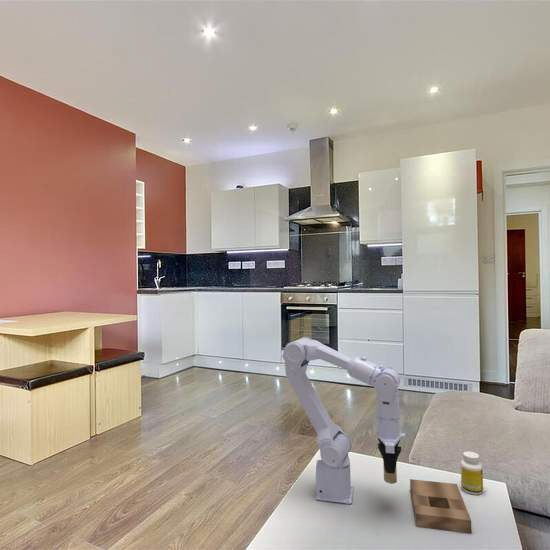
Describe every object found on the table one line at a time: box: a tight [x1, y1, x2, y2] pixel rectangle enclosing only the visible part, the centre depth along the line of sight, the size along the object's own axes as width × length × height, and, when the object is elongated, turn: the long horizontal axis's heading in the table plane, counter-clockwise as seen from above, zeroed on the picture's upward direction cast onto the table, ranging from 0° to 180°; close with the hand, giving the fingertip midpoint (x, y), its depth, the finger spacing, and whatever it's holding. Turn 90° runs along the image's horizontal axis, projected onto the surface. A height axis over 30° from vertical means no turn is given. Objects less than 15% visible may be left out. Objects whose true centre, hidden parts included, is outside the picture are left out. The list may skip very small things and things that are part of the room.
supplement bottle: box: [460, 451, 484, 496], centre depth 105 cm, size 5×5×10 cm
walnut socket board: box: [409, 478, 472, 534], centre depth 97 cm, size 12×16×3 cm
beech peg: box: [382, 445, 398, 485], centre depth 98 cm, size 3×3×9 cm
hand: (389, 469), depth 98 cm, fingers closed on beech peg, 3 cm apart
